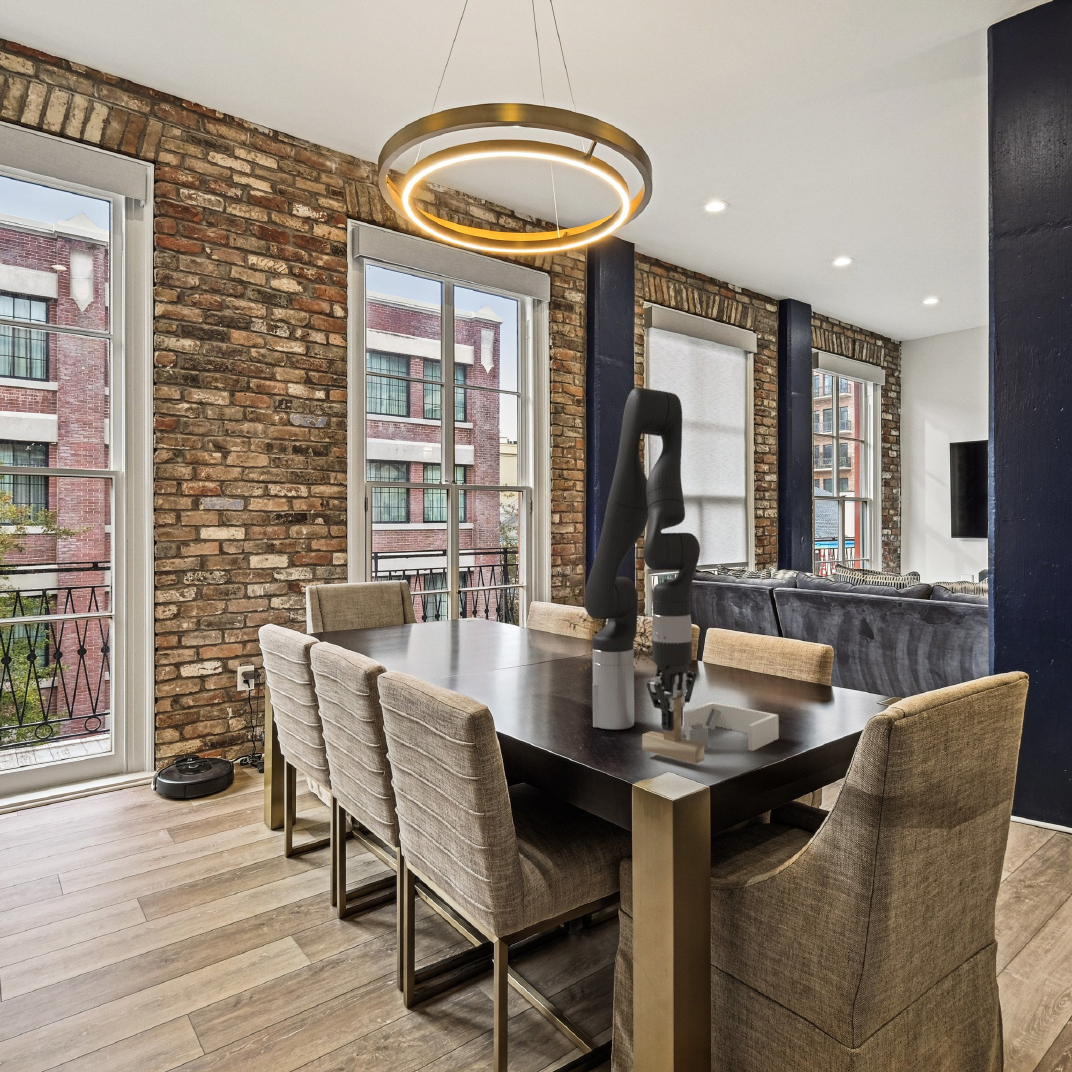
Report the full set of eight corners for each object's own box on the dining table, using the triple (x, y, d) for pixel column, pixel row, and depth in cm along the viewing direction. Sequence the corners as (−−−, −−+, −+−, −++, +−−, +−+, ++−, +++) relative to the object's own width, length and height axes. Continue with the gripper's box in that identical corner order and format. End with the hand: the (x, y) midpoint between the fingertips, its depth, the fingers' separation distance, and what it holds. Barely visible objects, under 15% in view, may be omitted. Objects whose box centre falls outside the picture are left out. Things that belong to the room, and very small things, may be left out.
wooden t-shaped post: (695, 763, 134) (695, 704, 134) (642, 749, 143) (641, 693, 142) (704, 760, 136) (703, 701, 136) (651, 746, 145) (651, 691, 144)
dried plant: (668, 606, 235) (549, 553, 220) (722, 628, 206) (589, 568, 191) (630, 693, 234) (508, 645, 219) (679, 728, 205) (542, 675, 190)
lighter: (690, 751, 145) (689, 711, 145) (686, 748, 147) (685, 709, 147) (721, 748, 147) (721, 708, 147) (717, 745, 149) (717, 706, 149)
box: (752, 750, 145) (752, 726, 145) (684, 734, 156) (683, 711, 156) (778, 738, 153) (778, 714, 153) (711, 724, 164) (711, 701, 164)
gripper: (667, 645, 131) (667, 740, 132) (708, 635, 141) (709, 724, 142) (633, 640, 137) (634, 732, 137) (675, 631, 146) (676, 717, 147)
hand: (672, 727), depth 139 cm, fingers closed on wooden t-shaped post, 2 cm apart
